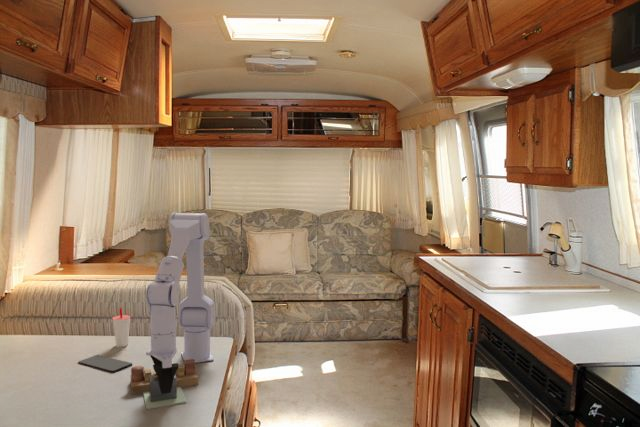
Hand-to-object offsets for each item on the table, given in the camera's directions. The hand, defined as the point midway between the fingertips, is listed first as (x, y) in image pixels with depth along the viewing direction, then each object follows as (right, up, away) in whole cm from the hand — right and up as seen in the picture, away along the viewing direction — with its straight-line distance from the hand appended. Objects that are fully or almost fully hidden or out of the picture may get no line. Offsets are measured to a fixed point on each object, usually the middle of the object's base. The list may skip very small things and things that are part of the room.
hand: (164, 386), depth 124 cm
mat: (0, -3, 0) cm, 3 cm away
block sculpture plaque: (-3, -2, +9) cm, 10 cm away
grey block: (0, -3, 0) cm, 3 cm away
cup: (-25, 0, +37) cm, 45 cm away
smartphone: (-23, -2, +22) cm, 32 cm away
